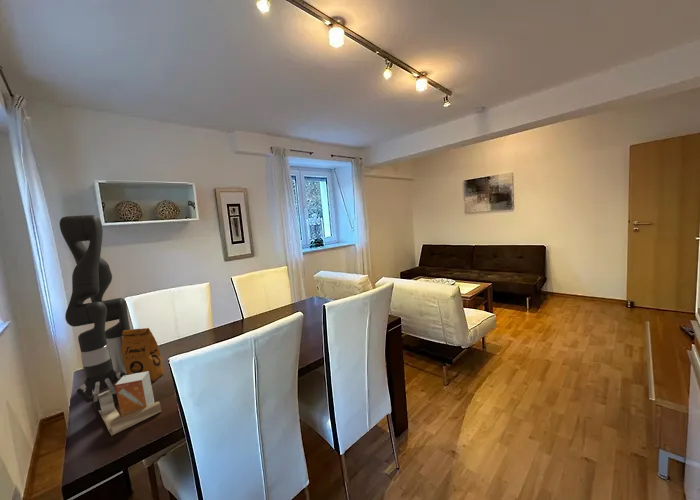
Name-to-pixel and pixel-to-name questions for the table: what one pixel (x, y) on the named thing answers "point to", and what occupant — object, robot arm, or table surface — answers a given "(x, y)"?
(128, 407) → the small box
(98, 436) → the table surface
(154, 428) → the table surface
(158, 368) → the coffee package
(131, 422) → the hooked slat
